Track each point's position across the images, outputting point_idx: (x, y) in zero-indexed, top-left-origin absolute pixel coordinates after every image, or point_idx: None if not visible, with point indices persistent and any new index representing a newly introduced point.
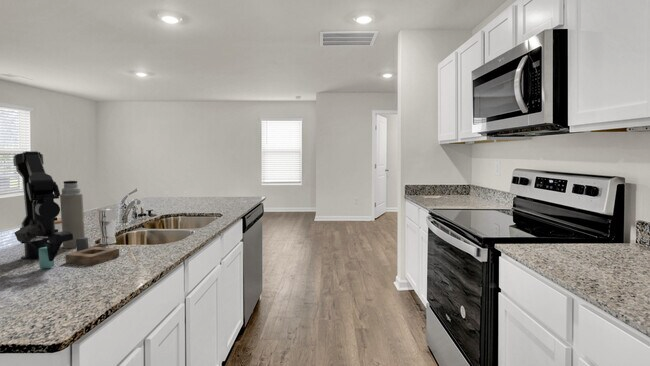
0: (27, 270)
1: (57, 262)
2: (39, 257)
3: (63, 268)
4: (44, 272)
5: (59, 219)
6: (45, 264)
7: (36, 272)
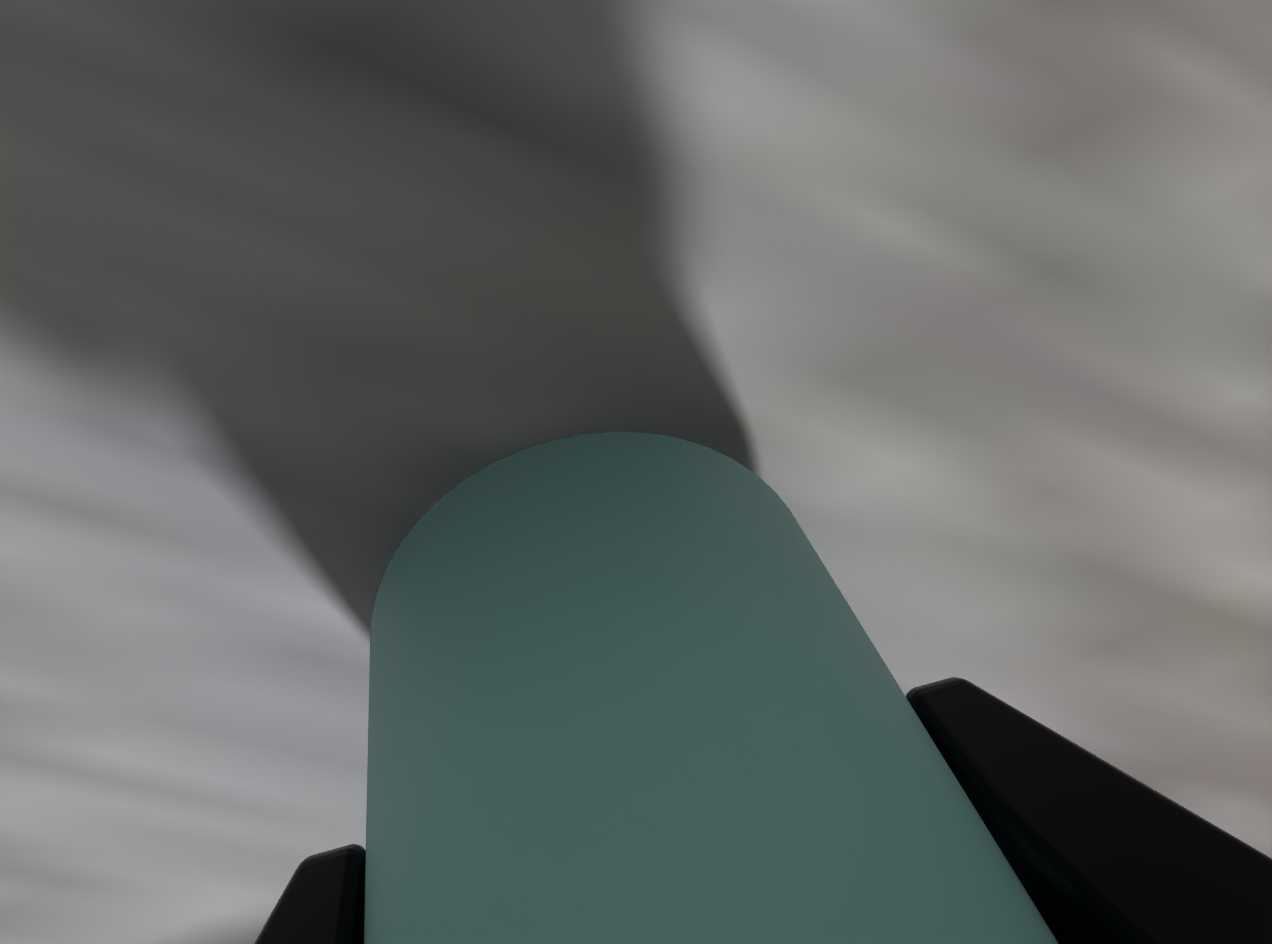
0: (1026, 124)
1: None
2: (748, 744)
3: (77, 852)
4: (49, 332)
5: None
6: (408, 627)
7: (365, 163)
